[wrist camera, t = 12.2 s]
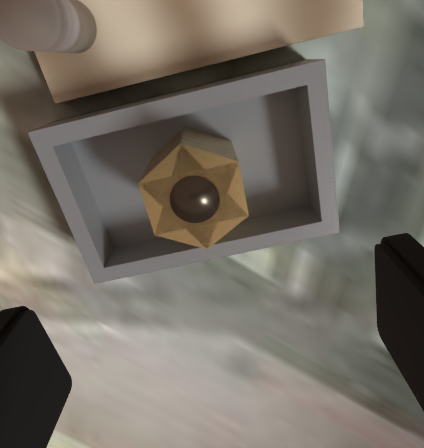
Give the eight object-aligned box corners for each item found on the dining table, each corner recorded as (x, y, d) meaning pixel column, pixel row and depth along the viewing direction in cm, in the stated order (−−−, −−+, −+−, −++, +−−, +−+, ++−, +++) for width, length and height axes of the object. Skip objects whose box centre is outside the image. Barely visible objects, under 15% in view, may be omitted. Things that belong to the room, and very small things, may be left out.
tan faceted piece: (226, 116, 22) (233, 132, 17) (243, 206, 24) (253, 240, 19) (144, 135, 22) (128, 155, 17) (169, 221, 24) (161, 259, 20)
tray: (306, 59, 21) (324, 59, 18) (322, 210, 25) (339, 232, 22) (52, 122, 22) (27, 132, 19) (107, 256, 26) (94, 283, 23)
